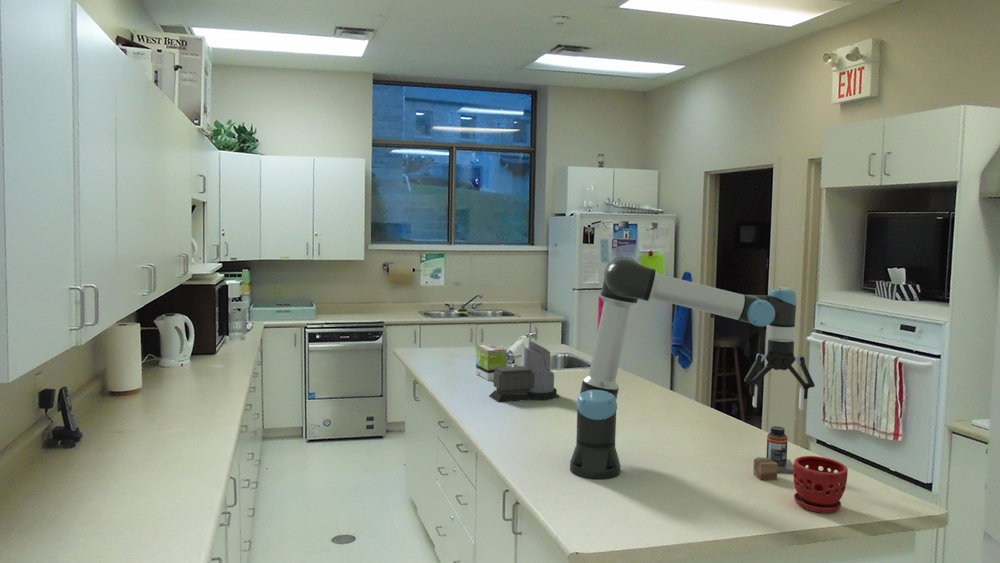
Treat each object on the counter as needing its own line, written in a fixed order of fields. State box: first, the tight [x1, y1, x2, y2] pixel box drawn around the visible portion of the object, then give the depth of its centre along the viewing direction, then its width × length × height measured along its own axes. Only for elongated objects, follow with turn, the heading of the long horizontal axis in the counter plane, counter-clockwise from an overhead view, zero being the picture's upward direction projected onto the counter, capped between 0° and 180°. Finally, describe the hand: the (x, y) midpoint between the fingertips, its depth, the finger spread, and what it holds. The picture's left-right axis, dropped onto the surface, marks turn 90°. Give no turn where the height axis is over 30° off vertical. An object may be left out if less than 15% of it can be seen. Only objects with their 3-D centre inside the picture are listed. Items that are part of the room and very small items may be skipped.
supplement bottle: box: [765, 425, 789, 466], centre depth 225 cm, size 6×6×11 cm
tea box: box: [475, 343, 507, 381], centre depth 350 cm, size 15×10×15 cm, turn 25°
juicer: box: [488, 340, 560, 403], centre depth 311 cm, size 30×16×24 cm, turn 111°
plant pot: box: [793, 455, 849, 514], centre depth 193 cm, size 13×13×12 cm
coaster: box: [756, 456, 794, 475], centre depth 225 cm, size 10×10×1 cm
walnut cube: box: [753, 458, 778, 481], centre depth 216 cm, size 5×5×5 cm
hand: (777, 407), depth 224 cm, fingers open, 13 cm apart
